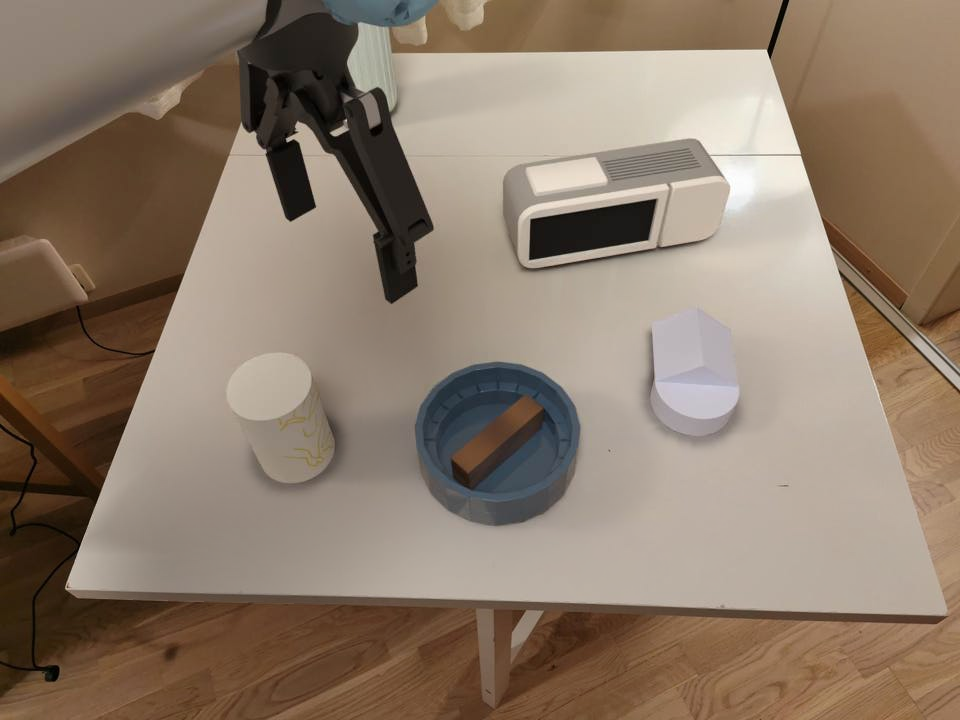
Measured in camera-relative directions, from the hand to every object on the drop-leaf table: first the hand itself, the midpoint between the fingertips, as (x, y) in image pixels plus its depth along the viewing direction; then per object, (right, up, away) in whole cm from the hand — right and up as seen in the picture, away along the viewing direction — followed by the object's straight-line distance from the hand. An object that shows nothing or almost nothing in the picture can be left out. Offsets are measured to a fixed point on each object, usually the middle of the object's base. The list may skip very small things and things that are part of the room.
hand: (348, 251), depth 58 cm
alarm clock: (+28, +8, +39) cm, 49 cm away
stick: (+13, -19, +18) cm, 29 cm away
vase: (-8, +33, +61) cm, 69 cm away
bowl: (+13, -19, +18) cm, 29 cm away
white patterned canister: (-9, -19, +20) cm, 29 cm away
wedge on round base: (+35, -12, +23) cm, 44 cm away
